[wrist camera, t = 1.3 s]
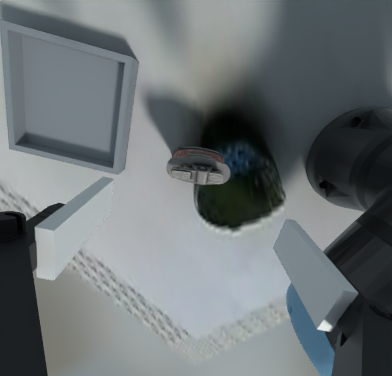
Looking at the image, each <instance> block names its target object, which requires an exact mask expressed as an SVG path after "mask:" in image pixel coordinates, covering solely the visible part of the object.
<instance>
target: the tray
mask: <svg viewBox="0 0 392 376" xmlns="http://www.w3.org/2000/svg"><path fill="white" fill-rule="evenodd" d="M0 31H1V45H2V58H3V72H4V85H5V99H6V112H7V126H8V139H9V149H12V150H16V151H20V152H25V153H29V154H33V155H37V156H41V157H46V158H50V159H54V160H58V161H62V162H67V163H71V164H75V165H79V166H83V167H88V168H92V169H96V170H100V171H104V172H109V173H113V174H117V175H118V174H119V173H121V172H122V171H123V170H124V169H125V162H126V155H127V147H128V140H129V132H130V125H131V117H132V109H133V102H134V94H135V87H136V79H137V72H138V64H139V62H138V61H137V60H135V59H134V58H133V57H130V56H127V55H123V54H120V53H116V52H112V51H109V50H105V49H102V48H98V47H95V46H91V45H88V44H84V43H81V42H77V41H74V40H70V39H67V38H63V37H60V36H56V35H53V34H49V33H46V32H42V31H39V30H35V29H32V28H28V27H25V26H21V25H18V24H14V23H11V22H7V21H4V20H0Z"/></svg>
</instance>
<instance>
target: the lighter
mask: <svg viewBox="0 0 392 376" xmlns="http://www.w3.org/2000/svg"><path fill="white" fill-rule="evenodd" d="M167 172H168V174H169V175H170V176H171V177H172V178H175V179H179V180H182V181H186V182H191V183H196V184H202V185H205V184H222V183H225V182H226V181H227V180H228V179H229V177H230V169H229V167H228V165H227V164H225V162H224V157H223V155H222V154H221V153H219V152H217V151H214V150H211V149H206V148H201V147H179V148H177V149H175V151H174V153H173V157H172V158H171V159H170V160H169V162H168V163H167Z"/></svg>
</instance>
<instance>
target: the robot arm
mask: <svg viewBox="0 0 392 376" xmlns="http://www.w3.org/2000/svg"><path fill="white" fill-rule="evenodd" d="M307 175H308V179H309V182H310V184H311V186H312V187H313V189H314V190H315V191H316V192H317V193H318V194H319V195H320V196H322V197H323V198H325V199H326V200H327V201H329V202H331V203H333V204H335V205H338V206H341V207H345V208H350V209H355V210H359V211H364V213H363V214H362V215H361V216H360V217H359V218H358V219H357V220H356V221H354V222H353V223H352V224H351V225H350V226H349V227H348V228H347V229H346V230H345V231H344V232H343V233H342V234H341V235H340V236H339V237H337V238H336V239H335V240H334V241H333V242H332V243H331V244H330V245H329V246H328V247H327V248H326V249H325V250H324V251H323V252H322V251H321V249H320V248H319V247H318V246H317V245H316V244H315V242H314V241H313V240H312V239H311V238H310V237H309V236H308V234H307V233H306V232H305V231H304V230H303V229H302V227H301V226H300V225H299V224H298V223H297V222H296V221H294V220H290V219H286V221H285V223H284V225H283V227H282V229H281V231H280V234H279V236H278V238H277V240H276V242H275V244H274V247H273V249H274V250H275V252H276V254H277V256H278V258H279V260H280V262H281V263H282V265H283V267H284V269H285V271H286V273H287V275H288V276H289V278H290V280H291V282H292V283H291V284H290V286H289V288H288V290H287V296H286V302H287V309H288V312H289V315H290V318H291V323H292V325H293V328H294V330H295V333H296V335H297V337H298V339H299V341H300V343H301V345H302V347H303V349H304V350H305V352H306V353H307V355H308V357H309V359H310V360H311V361H312V363H313V365H314V366H315V368H316V369H317V371H318V372H319V373H320V375H321V376H392V109H391V108H383V107H368V108H360V109H356V110H353V111H350V112H347V113H345V114H343V115H341V116H340V117H338V118H336V119H335V120H334V121H332V122H331V123H330V124H329V125H327V126H326V127H325V128H324V129H323V131H322V132H321V133H320V134H319V135H318V137H317V138H316V140H315V141H314V143H313V145H312V147H311V150H310V152H309V156H308V160H307ZM113 186H114V179H111V178H107V177H102V178H101V179H100V180H98V181H97V182H95V183H94V184H93V185H91V186H90V187H89V188H87V189H86V190H84V191H83V192H82V193H80V194H79V195H78V196H76V197H75V198H74V199H72V200H71V201H69V202H68V203H67V204H62V203H57V204H54V205H51V206H49V207H47V208H46V209H44V210H43V211H42V212H39V213H38V214H36V216H33V217H32V218H30V219H29V220H27V221H26V217H25V215H24V214H22V213H20V212H14V211H5V212H0V376H48V375H47V368H46V361H45V354H44V347H43V341H42V334H41V327H40V320H39V313H38V306H37V299H36V292H35V286H34V279H33V273H32V272H33V271H34V270H35V268H36V269H37V277H38V278H43V279H48V280H55V279H56V278H57V276H58V275H59V274H60V273H61V272H62V270H63V269H64V268H65V267H66V266H67V264H68V263H69V262H70V261H71V260H72V258H73V257H74V256H75V255H76V253H77V252H78V251H79V250H80V249H81V247H82V246H83V245H84V244H85V243H86V241H87V240H88V239H89V238H90V237H91V235H92V234H93V233H94V232H95V231H96V229H97V228H98V227H99V226H100V225H101V223H102V222H103V221H104V220H105V219H106V217H107V216H108V215H109V214H110V213H111V204H112V195H113Z"/></svg>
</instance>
